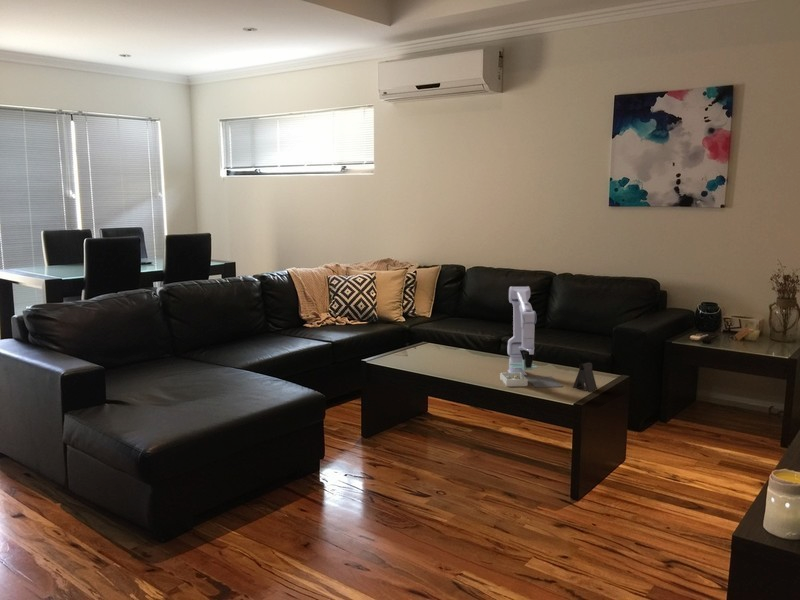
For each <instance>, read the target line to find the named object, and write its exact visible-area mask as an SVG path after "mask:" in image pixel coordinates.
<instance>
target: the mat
mask: <svg viewBox="0 0 800 600" xmlns="http://www.w3.org/2000/svg"><path fill="white" fill-rule="evenodd" d="M525 377H526V378H527V379H528V382H529V383H530V384H531V385H533V387H535V388H536V389H538V388H541V389H542V388H563V387H564V385H562V384H561V383H560V382H559V381H557V380H556V379H555V378H554V377H553V376H549V375H548V376H525Z"/></svg>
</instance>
